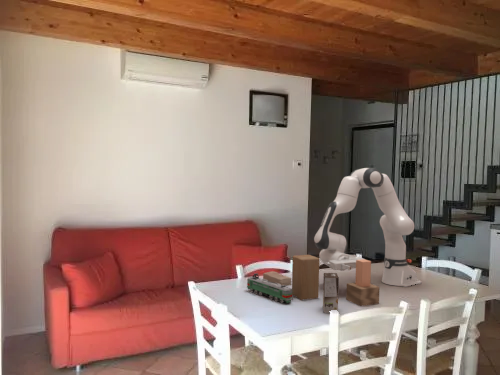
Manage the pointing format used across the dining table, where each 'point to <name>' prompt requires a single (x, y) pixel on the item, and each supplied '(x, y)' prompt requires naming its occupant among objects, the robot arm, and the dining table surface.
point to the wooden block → (305, 277)
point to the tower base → (362, 294)
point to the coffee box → (330, 292)
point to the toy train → (269, 289)
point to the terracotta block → (363, 273)
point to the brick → (277, 278)
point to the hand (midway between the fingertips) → (358, 267)
